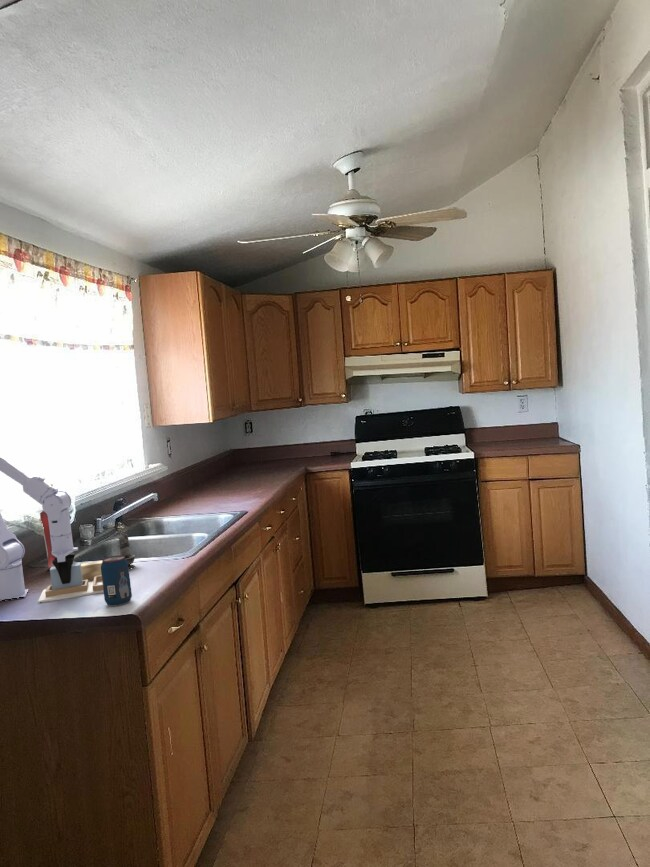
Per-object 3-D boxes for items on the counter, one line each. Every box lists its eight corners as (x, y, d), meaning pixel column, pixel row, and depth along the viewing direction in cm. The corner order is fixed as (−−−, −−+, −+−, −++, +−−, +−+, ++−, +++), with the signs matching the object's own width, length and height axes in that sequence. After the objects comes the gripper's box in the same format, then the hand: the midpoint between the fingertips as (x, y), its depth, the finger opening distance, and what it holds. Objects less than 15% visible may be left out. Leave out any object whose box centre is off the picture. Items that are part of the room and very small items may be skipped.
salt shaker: (129, 564, 231) (125, 528, 230) (140, 566, 227) (135, 529, 226) (113, 569, 226) (109, 532, 225) (124, 571, 222) (120, 533, 222)
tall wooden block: (77, 583, 213) (75, 567, 213) (78, 580, 217) (75, 564, 216) (108, 578, 216) (106, 562, 215) (108, 575, 219) (106, 559, 219)
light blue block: (52, 590, 200) (49, 569, 200) (53, 587, 204) (51, 567, 203) (82, 586, 202) (79, 565, 202) (83, 583, 206) (80, 562, 205)
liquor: (56, 565, 241) (46, 483, 239) (75, 564, 239) (64, 482, 237) (42, 571, 234) (31, 487, 232) (61, 570, 232) (50, 485, 230)
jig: (38, 603, 195) (37, 595, 195) (43, 591, 207) (42, 584, 207) (117, 590, 201) (116, 582, 200) (118, 579, 213) (117, 572, 213)
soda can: (112, 599, 191) (107, 555, 191) (136, 598, 190) (131, 554, 190) (100, 607, 185) (94, 562, 184) (125, 606, 183) (120, 560, 183)
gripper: (73, 537, 196) (80, 585, 197) (77, 528, 210) (83, 573, 211) (46, 541, 194) (52, 589, 195) (52, 531, 208) (58, 577, 209)
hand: (66, 581), depth 203 cm, fingers closed on light blue block, 3 cm apart
